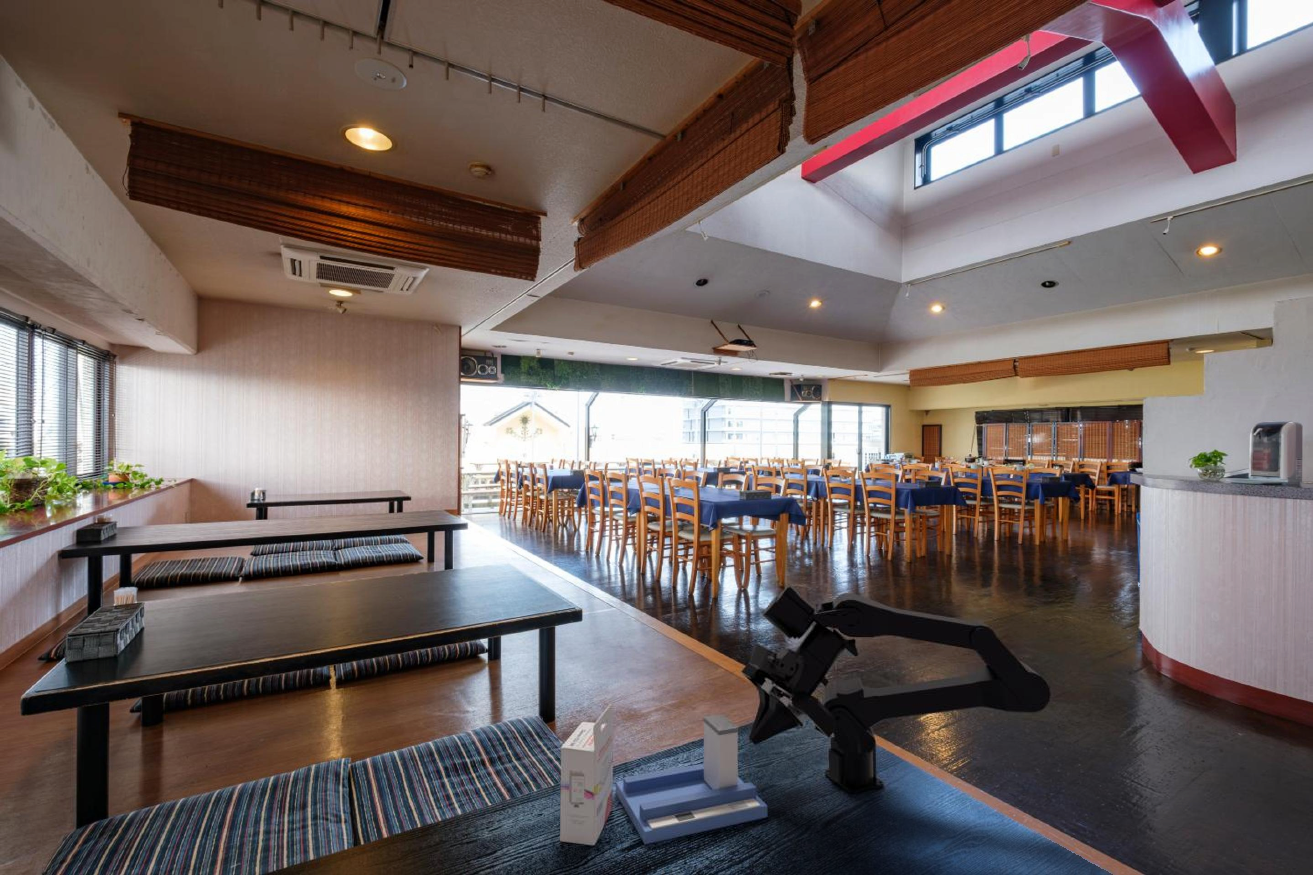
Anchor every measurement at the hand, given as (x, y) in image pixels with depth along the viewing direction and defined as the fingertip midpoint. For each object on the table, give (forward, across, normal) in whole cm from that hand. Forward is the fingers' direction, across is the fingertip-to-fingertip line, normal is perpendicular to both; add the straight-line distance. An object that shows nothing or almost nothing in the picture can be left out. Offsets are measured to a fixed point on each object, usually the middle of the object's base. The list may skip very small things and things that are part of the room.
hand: (751, 741), depth 86 cm
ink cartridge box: (+23, 0, -13) cm, 26 cm away
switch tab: (+8, 0, 0) cm, 8 cm away
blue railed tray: (+12, 0, -2) cm, 13 cm away
